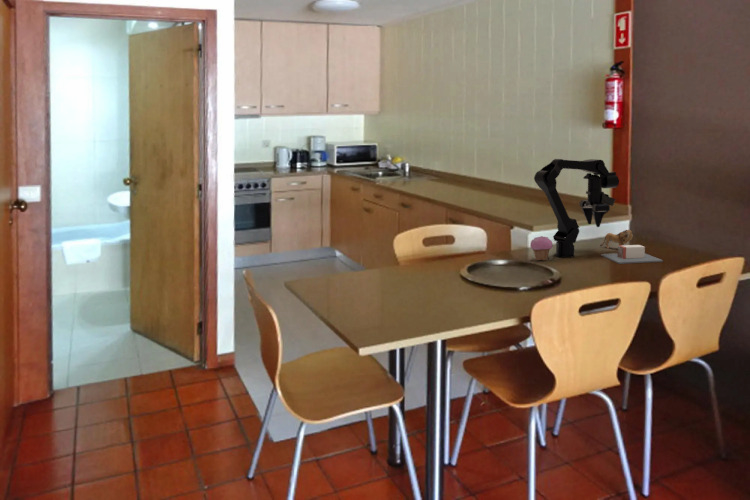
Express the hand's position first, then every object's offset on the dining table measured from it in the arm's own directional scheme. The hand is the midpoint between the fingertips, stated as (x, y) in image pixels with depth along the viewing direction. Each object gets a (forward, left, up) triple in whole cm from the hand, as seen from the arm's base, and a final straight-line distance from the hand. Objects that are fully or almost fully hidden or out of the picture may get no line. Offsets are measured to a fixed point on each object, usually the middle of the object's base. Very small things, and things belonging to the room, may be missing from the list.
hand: (593, 225), depth 286 cm
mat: (+10, -15, -12) cm, 22 cm away
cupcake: (-26, -10, -12) cm, 30 cm away
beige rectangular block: (+10, -15, -11) cm, 21 cm away
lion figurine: (+14, +7, -12) cm, 20 cm away
